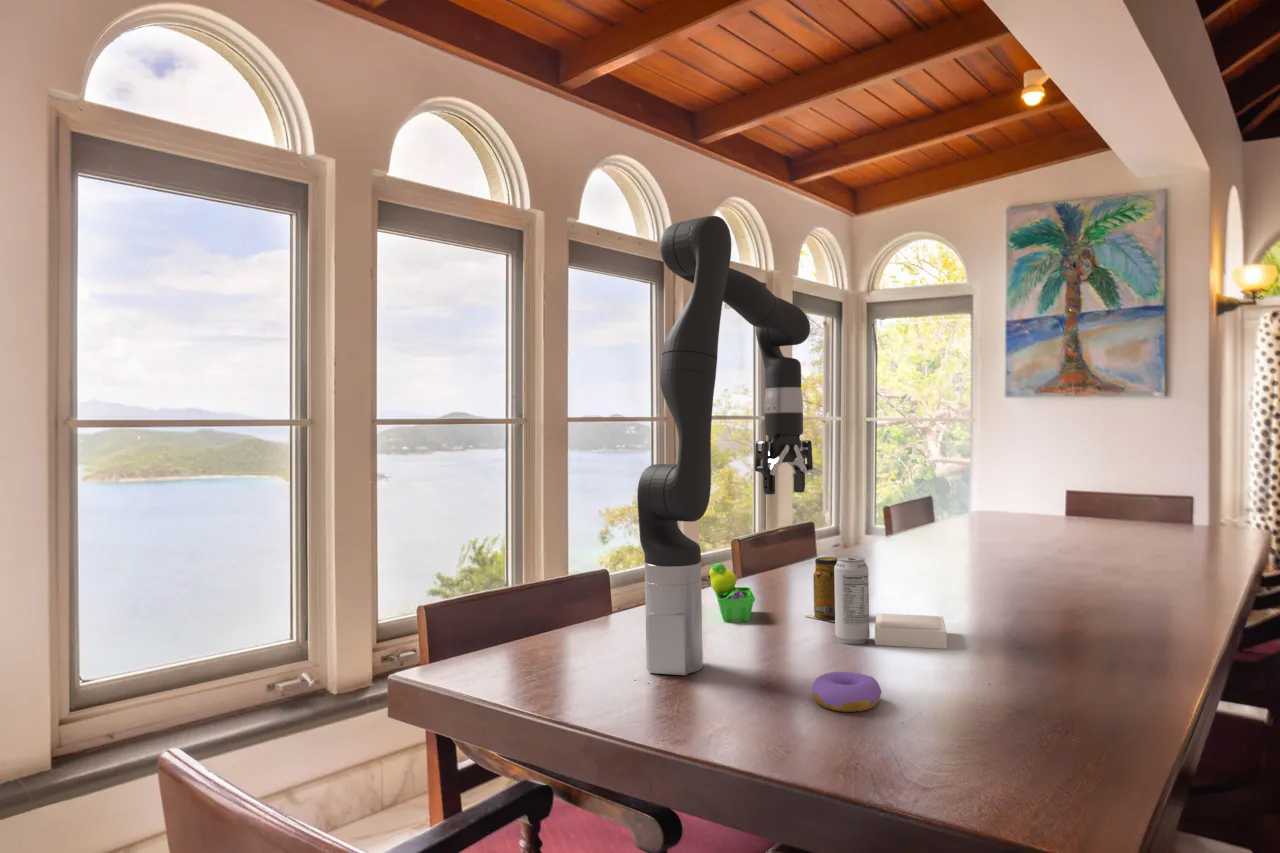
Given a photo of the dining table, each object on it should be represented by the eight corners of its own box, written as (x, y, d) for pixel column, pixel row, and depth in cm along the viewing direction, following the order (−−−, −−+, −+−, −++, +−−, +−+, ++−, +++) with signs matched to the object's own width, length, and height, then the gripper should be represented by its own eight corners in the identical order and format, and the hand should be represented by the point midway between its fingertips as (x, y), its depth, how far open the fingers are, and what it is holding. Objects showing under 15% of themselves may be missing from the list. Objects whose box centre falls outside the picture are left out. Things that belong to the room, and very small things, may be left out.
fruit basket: (756, 623, 166) (755, 566, 166) (712, 624, 166) (710, 567, 166) (750, 610, 177) (749, 558, 177) (708, 611, 178) (707, 558, 178)
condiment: (826, 611, 175) (825, 554, 175) (860, 618, 169) (859, 559, 169) (804, 617, 171) (803, 558, 171) (838, 624, 164) (836, 563, 164)
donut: (829, 685, 124) (835, 655, 124) (888, 710, 118) (894, 678, 118) (796, 703, 117) (802, 671, 116) (857, 731, 111) (864, 697, 110)
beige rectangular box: (946, 648, 144) (946, 630, 144) (875, 644, 148) (874, 626, 148) (943, 632, 156) (943, 615, 156) (876, 629, 159) (876, 612, 159)
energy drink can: (863, 636, 154) (862, 555, 154) (874, 644, 148) (872, 560, 148) (831, 637, 154) (830, 556, 154) (840, 645, 148) (839, 561, 148)
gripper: (773, 410, 157) (774, 496, 157) (822, 411, 166) (823, 492, 165) (744, 411, 163) (745, 494, 163) (793, 412, 172) (794, 490, 171)
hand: (784, 493), depth 164 cm, fingers open, 8 cm apart
